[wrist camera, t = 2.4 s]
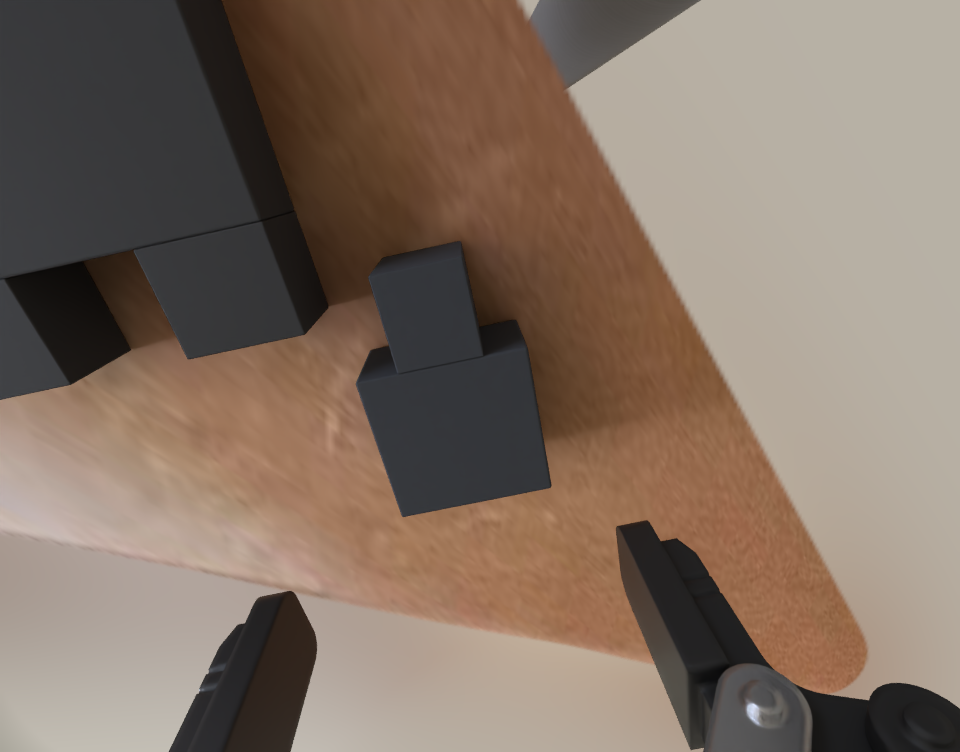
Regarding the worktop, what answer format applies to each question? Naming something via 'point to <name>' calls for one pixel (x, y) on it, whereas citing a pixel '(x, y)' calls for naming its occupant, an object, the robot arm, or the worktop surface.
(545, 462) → the pad
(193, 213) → the base pad
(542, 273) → the worktop surface
